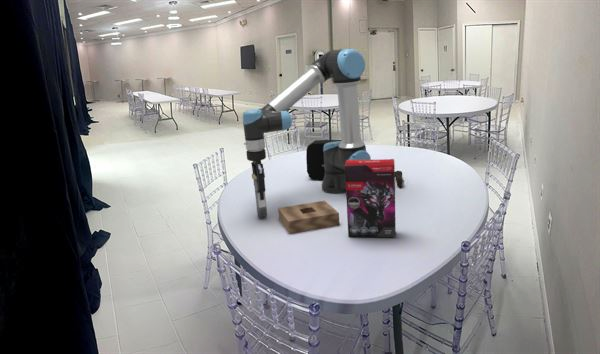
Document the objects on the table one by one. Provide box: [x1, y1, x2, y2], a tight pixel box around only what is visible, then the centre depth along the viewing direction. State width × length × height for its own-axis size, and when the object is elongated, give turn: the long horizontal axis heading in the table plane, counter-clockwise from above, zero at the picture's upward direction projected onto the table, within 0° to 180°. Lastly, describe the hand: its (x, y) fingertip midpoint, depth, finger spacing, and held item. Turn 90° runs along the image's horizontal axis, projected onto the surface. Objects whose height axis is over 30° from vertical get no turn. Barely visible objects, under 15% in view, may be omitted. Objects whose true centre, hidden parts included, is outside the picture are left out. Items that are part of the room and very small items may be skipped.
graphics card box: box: [345, 158, 397, 238], centre depth 156 cm, size 17×7×27 cm, turn 79°
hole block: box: [277, 200, 340, 235], centre depth 174 cm, size 20×16×5 cm
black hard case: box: [305, 139, 367, 182], centre depth 228 cm, size 30×12×20 cm, turn 72°
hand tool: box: [395, 170, 404, 189], centre depth 216 cm, size 19×4×5 cm, turn 168°
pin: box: [251, 172, 268, 218], centre depth 179 cm, size 5×5×18 cm
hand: (261, 205), depth 181 cm, fingers closed on pin, 4 cm apart
